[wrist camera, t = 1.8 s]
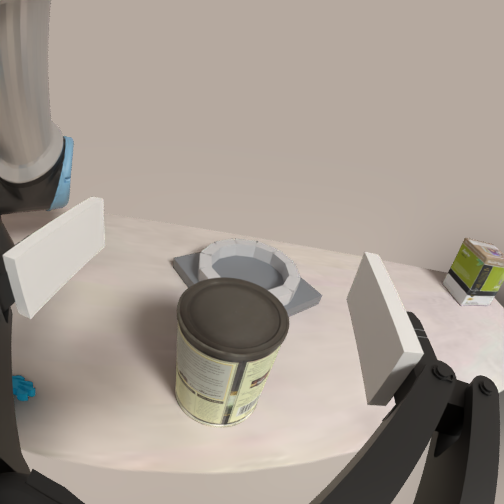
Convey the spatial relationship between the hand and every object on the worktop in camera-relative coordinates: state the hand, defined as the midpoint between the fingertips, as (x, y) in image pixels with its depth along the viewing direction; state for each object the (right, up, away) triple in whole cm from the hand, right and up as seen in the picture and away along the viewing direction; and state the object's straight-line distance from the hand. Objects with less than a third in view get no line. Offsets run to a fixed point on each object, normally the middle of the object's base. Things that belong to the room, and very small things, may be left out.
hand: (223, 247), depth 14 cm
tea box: (+60, -12, +54) cm, 81 cm away
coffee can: (-3, -17, +20) cm, 27 cm away
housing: (0, -6, +40) cm, 40 cm away
